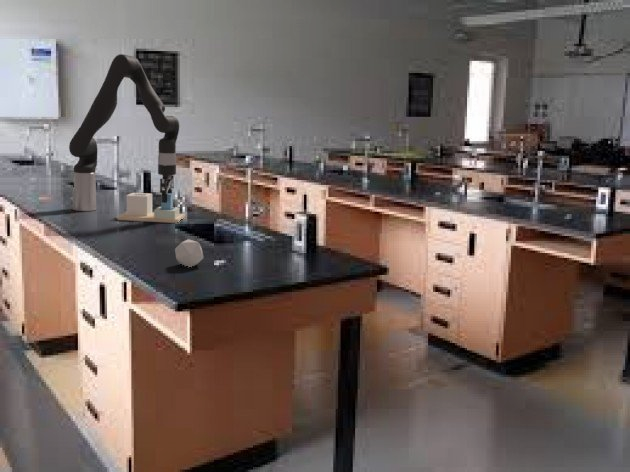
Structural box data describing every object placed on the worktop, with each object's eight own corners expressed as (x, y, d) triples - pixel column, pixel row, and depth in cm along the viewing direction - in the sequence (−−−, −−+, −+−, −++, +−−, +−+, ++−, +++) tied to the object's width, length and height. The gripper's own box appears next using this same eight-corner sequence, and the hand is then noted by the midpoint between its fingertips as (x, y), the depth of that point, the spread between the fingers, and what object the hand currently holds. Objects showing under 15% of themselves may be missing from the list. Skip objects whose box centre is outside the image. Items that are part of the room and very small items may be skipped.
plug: (161, 217, 275) (161, 194, 273) (163, 215, 279) (163, 193, 277) (170, 217, 275) (170, 194, 273) (172, 216, 279) (172, 193, 277)
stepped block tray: (117, 219, 272) (117, 196, 270) (127, 214, 286) (127, 192, 284) (178, 223, 272) (178, 199, 270) (185, 217, 286) (185, 195, 284)
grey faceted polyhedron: (183, 262, 210) (167, 241, 204) (207, 250, 210) (192, 228, 204) (185, 278, 203) (169, 256, 197) (210, 265, 203) (195, 243, 197)
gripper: (162, 161, 279) (162, 198, 282) (153, 164, 265) (153, 203, 268) (179, 162, 279) (179, 199, 282) (171, 165, 265) (171, 204, 268)
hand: (166, 201), depth 275 cm, fingers open, 8 cm apart
